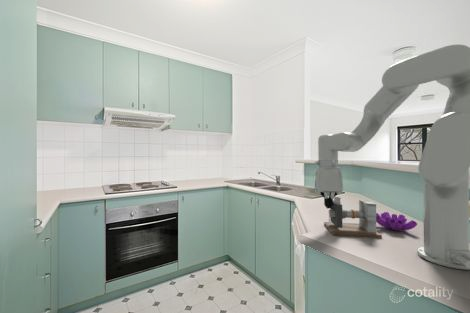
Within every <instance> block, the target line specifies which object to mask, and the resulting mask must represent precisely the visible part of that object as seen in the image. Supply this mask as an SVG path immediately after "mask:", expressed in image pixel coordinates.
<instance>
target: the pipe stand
mask: <svg viewBox="0 0 470 313" xmlns="http://www.w3.org/2000/svg"><path fill="white" fill-rule="evenodd" d="M358 202H359V203H358V205H359V206H358V208H359V209H358V210H355V209H351V210H349V209H343V210H342V217H344V218H347V219H348V218H350V219H359V221H358V223H356V222H355V223H353V222H342V228H337V227H336V226H335V225H334V224H333V223H332V222H331V221H324V222H323V224H324V226H325V228H326V229H327V230H328V231H329V233H331V235H332V236H333V237H349V238H364V237H367V239H383V236H382V235H383V234H381V233H379V232H378V231H377V222H376V213H377V203H375V202H372V201H370V200H367V199H359V200H358ZM328 216H329V217H330V218H331V217H335V210H331V209H329V210H328ZM344 218H343V219H344Z"/></svg>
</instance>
